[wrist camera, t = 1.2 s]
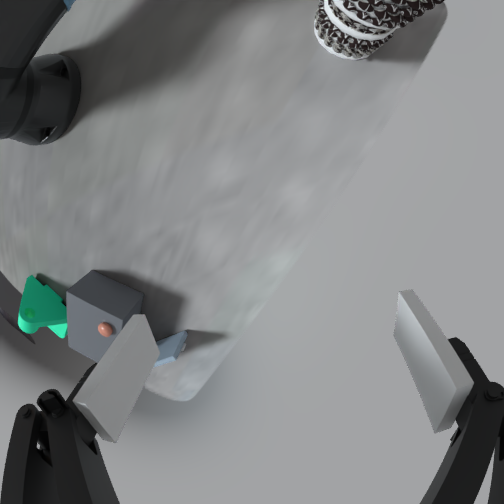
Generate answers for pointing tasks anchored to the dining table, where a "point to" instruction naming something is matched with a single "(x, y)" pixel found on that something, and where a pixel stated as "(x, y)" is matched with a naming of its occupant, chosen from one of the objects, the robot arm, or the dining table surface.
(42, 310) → the camera mount
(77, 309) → the housing
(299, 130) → the dining table surface
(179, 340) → the side door
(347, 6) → the decorative candle
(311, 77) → the dining table surface
